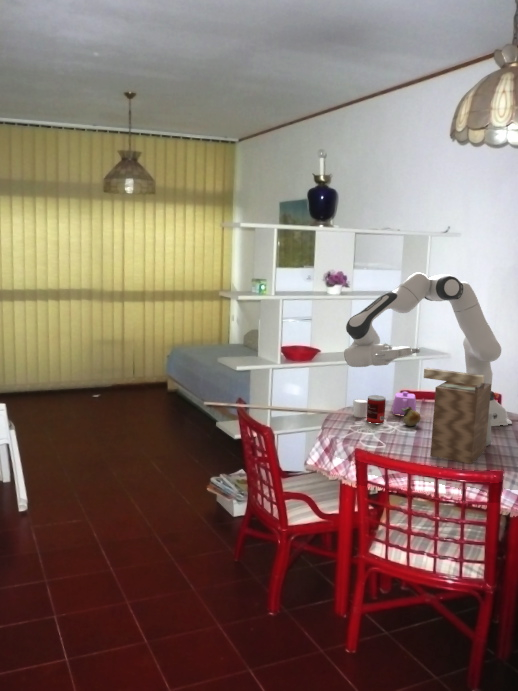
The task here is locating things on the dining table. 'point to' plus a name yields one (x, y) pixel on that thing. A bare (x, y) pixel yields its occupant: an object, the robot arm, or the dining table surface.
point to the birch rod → (453, 376)
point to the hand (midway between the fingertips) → (415, 351)
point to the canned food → (376, 409)
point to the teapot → (403, 402)
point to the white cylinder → (360, 407)
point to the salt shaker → (489, 431)
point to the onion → (411, 417)
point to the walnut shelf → (460, 421)
